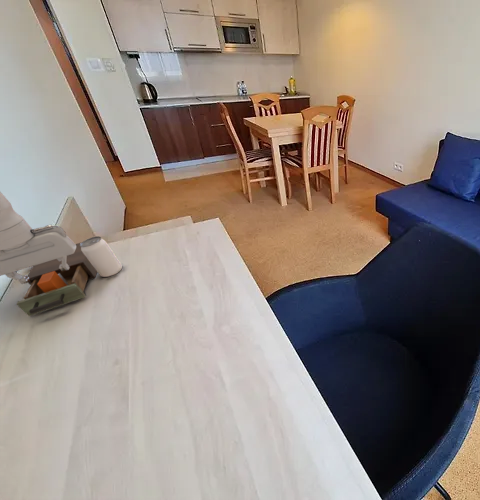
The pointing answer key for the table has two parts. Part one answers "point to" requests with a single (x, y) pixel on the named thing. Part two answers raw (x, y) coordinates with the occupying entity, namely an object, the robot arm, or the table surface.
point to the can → (101, 256)
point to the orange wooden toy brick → (51, 281)
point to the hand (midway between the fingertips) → (46, 275)
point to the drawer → (55, 292)
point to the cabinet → (53, 265)
